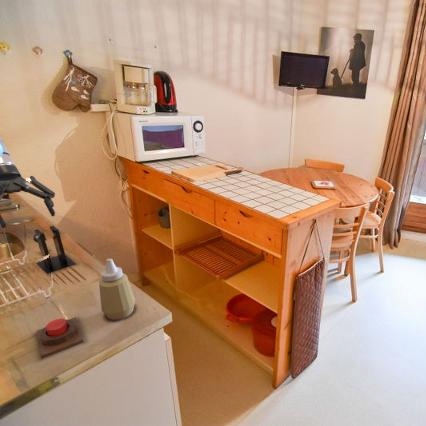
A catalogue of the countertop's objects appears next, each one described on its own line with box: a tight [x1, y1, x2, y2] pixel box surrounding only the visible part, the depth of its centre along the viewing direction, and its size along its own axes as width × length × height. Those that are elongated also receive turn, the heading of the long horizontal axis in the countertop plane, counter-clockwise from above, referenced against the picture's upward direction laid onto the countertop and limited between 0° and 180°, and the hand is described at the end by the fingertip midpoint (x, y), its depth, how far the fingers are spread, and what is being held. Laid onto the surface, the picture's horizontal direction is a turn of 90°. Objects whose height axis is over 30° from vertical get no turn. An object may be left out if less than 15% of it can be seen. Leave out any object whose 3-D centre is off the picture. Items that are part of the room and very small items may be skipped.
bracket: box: [33, 225, 77, 275], centre depth 105 cm, size 10×8×14 cm
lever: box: [32, 229, 54, 244], centre depth 106 cm, size 14×4×4 cm, turn 55°
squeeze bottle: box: [98, 257, 136, 321], centre depth 86 cm, size 8×8×18 cm
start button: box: [45, 318, 68, 336], centre depth 78 cm, size 4×4×2 cm
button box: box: [36, 316, 84, 359], centre depth 79 cm, size 10×8×4 cm
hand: (30, 220), depth 111 cm, fingers open, 13 cm apart
